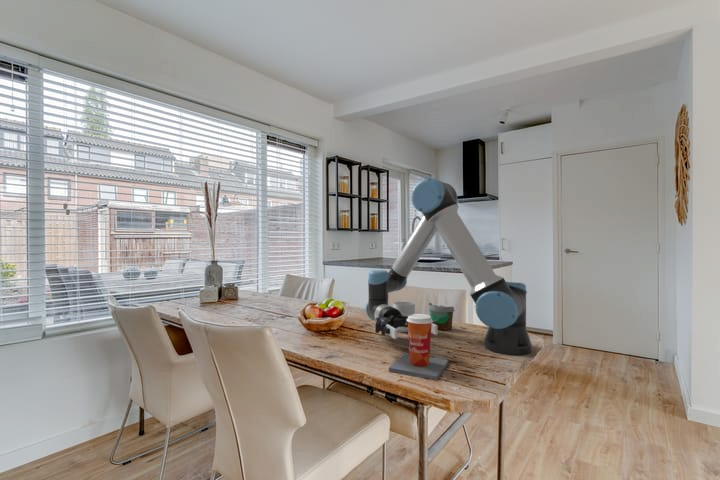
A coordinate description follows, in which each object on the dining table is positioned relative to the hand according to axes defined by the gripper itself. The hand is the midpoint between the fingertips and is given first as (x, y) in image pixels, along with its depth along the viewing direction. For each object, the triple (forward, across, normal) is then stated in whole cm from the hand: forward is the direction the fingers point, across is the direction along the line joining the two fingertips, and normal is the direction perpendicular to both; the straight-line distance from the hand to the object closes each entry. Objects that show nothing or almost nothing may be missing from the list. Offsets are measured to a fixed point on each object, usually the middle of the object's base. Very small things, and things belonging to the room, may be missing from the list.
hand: (416, 332), depth 106 cm
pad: (+1, 0, -10) cm, 10 cm away
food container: (-35, -28, -10) cm, 46 cm away
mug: (-39, -15, -10) cm, 43 cm away
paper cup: (+1, -1, -9) cm, 9 cm away
